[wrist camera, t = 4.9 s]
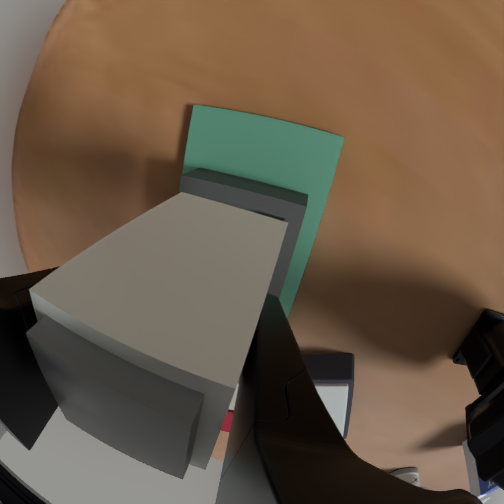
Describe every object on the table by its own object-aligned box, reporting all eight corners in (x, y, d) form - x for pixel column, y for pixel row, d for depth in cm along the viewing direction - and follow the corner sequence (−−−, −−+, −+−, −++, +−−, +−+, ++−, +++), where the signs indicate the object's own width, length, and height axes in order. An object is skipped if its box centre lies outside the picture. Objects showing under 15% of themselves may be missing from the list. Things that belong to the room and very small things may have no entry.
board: (342, 137, 17) (349, 138, 13) (282, 327, 24) (276, 359, 21) (199, 105, 18) (173, 102, 14) (174, 293, 25) (154, 319, 22)
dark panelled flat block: (187, 375, 25) (354, 386, 20) (204, 346, 29) (354, 351, 24) (217, 433, 29) (345, 445, 24) (228, 407, 33) (348, 415, 28)
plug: (288, 223, 10) (223, 422, 3) (256, 322, 12) (196, 492, 5) (181, 191, 10) (7, 306, 3) (169, 292, 12) (65, 427, 6)
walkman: (496, 416, 24) (513, 477, 14) (503, 417, 24) (519, 476, 14) (460, 443, 28) (469, 502, 17) (468, 444, 28) (477, 501, 17)
